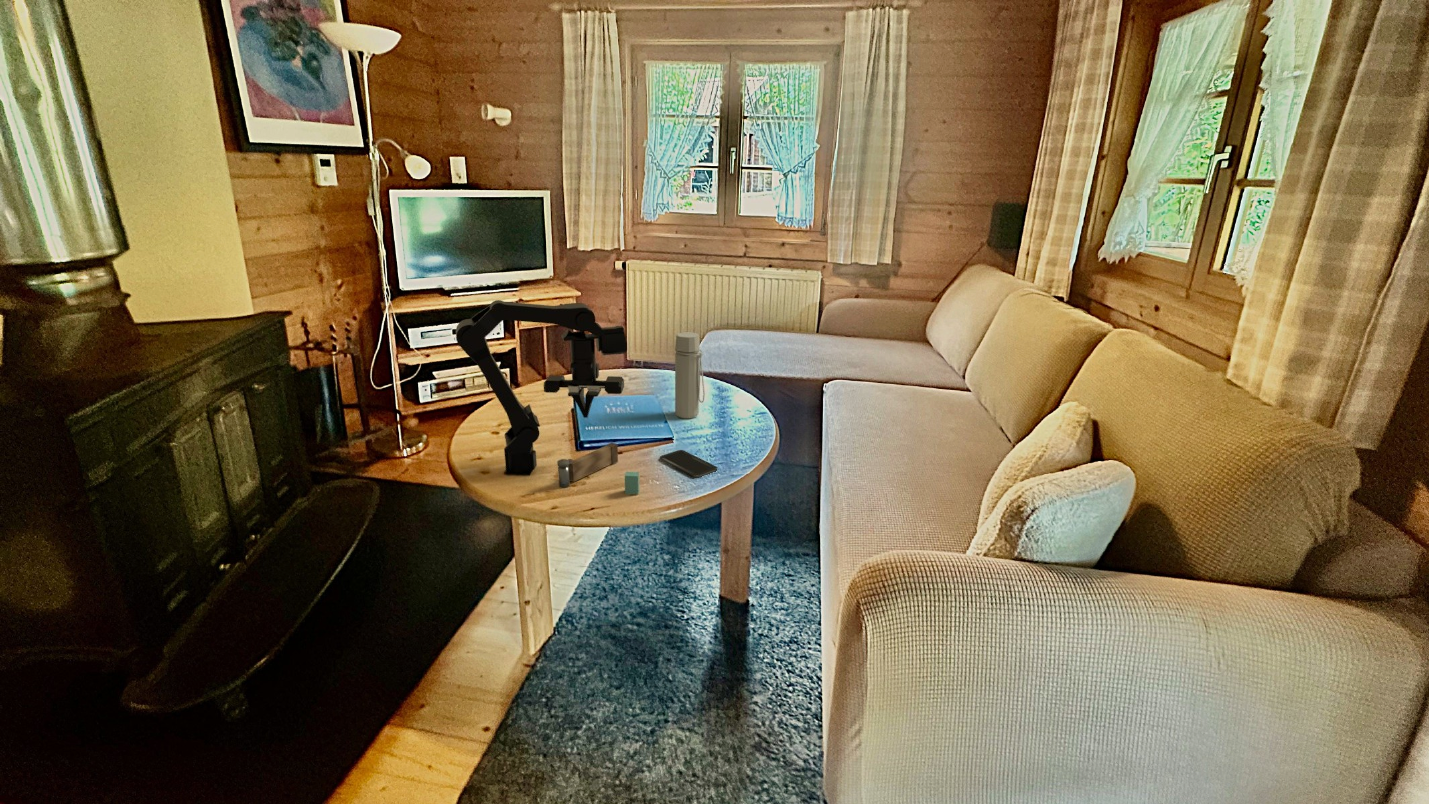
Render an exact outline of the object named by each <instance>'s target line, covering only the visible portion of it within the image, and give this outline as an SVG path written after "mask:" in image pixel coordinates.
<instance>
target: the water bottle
mask: <svg viewBox="0 0 1429 804" xmlns="http://www.w3.org/2000/svg"><path fill="white" fill-rule="evenodd" d="M675 338H676V339H675V346H674V351H675V354H674V355H675V356H674V357H675V359H674V362H675V363H674V366H675V368H674V372H675V373H674V375H675V376H674V381H675V383H674V384H675V386H674V390H675V391H674V394H675V395H674V403H675V404H674V406H675V408H674V414H675V415H676V416H677V417H679V418H681V419H688V420H689V419H693V418H695V417H697V416H698V415H699V413H700V408H699V407H700V404H699V403H702V404H703V403H704V401H705V397H706V396H705V394H706V393H705V381H704V371H703V362H702V357H703V353H704V352H703V350H701V346H700V345H701V344H700V335H699V333H696V332H692V331H689V332H688V331H684V332H678V333H676V334H675ZM701 383H702V391H703V392H702V393H703V395H702V400H701V396H700V394H701Z"/></svg>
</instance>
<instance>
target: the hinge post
mask: <svg viewBox="0 0 1429 804" xmlns="http://www.w3.org/2000/svg"><path fill="white" fill-rule="evenodd" d="M557 470H558V471H557V473H558V485H559V488H562V489H566V488H569V487H570V485H571V484H570V483H571V482H570V480H569V466H566V467H559V466H557Z"/></svg>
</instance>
